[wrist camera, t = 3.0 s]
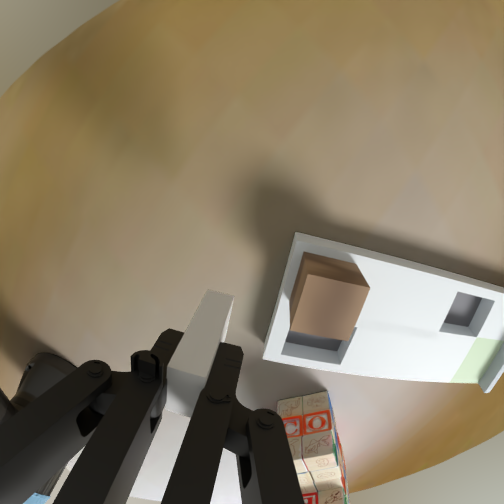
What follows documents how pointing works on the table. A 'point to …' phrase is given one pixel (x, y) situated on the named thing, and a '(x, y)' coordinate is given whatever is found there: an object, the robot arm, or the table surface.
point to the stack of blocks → (315, 448)
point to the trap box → (399, 322)
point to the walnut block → (327, 297)
